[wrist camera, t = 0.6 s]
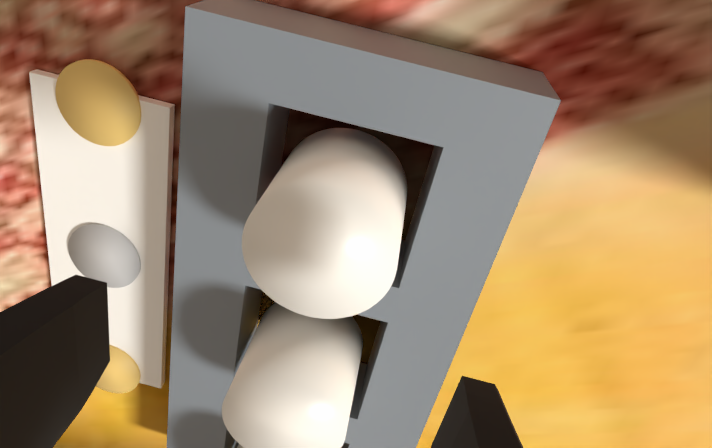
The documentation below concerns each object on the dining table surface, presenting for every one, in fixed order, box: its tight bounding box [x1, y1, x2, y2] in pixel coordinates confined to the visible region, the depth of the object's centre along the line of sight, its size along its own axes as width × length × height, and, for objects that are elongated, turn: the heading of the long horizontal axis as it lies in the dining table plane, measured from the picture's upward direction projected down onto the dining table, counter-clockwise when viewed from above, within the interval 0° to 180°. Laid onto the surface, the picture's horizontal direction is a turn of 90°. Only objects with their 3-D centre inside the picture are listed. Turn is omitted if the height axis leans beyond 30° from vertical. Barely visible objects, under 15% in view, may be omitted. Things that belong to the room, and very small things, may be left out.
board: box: [167, 0, 561, 448], centre depth 21 cm, size 10×22×3 cm, turn 168°
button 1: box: [242, 128, 408, 319], centre depth 15 cm, size 4×4×4 cm
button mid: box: [222, 302, 363, 448], centre depth 19 cm, size 4×4×4 cm
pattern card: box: [29, 59, 175, 393], centre depth 22 cm, size 16×5×1 cm, turn 168°
